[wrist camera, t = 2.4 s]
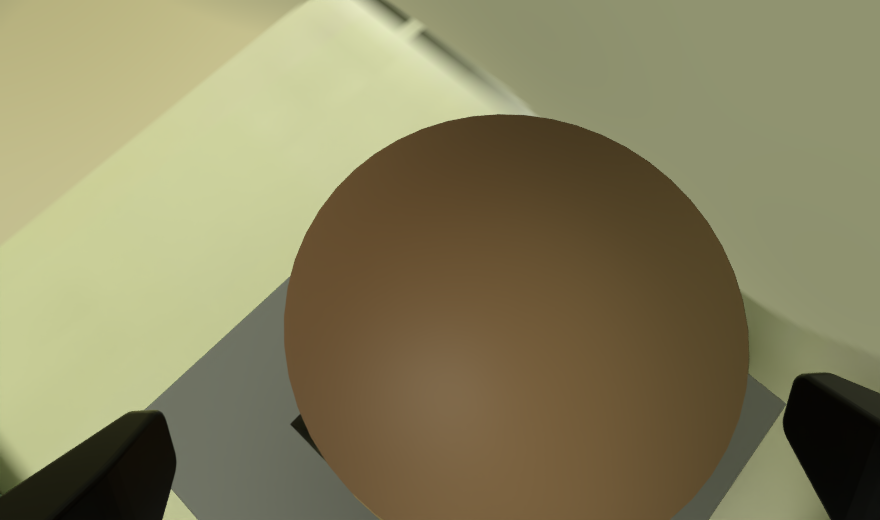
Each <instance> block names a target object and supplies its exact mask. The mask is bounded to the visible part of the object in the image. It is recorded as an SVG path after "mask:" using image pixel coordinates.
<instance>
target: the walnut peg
mask: <svg viewBox="0 0 880 520" xmlns="http://www.w3.org/2000/svg"><path fill="white" fill-rule="evenodd" d="M284 348H285V355H286V361H287V368H288V375H289V379H290V383H291V386H292V390H293V393H294V397H295V400H296V403H297V407H298V409H299V411H300V414H301V416H302V418H303V420H304V423H305V425H306V427H307V429H308V432H309V434H310V436H311V438H312V440H313V441H314V443H315V444H316V446H317V448H318V449H319V451H320V452H321V454H322V456H323V457H324V459H325V460H326V462H327V464H328V465H329V466H330V468H331V469H332V470H333V471H334V472H335V474H336V475H337V476H338V477H339V478H340V480H341V481H342V482H343V483H344V484H345V486H346V487H347V488H348V489H349V490H350V492H351V493H352V494H353V495H354V496H355V497H356V499H358V500H359V501H360V502H361V503H362V504H363V505H364V506H365V507H366V508H367V509H369V510H370V511H371V512H372V513H373V514H374V515H375V516H376V517H377V518H378V519H380V520H670V519H671V518H672V517H673V516H674V515H676V514H677V513H678V512H679V511H680V510H681V509H682V508H683V507H684V506H685V505H687V504H688V503H689V502H690V501H691V500H692V499H693V498H694V496H695V495H696V494H697V493H698V491H699V490H700V489H701V488H702V486H703V485H704V484H705V483H706V482H707V480H708V479H709V478H710V477H711V475H712V474H713V472H714V470H715V469H716V467H717V465H718V464H719V462H720V460H721V458H722V457H723V455H724V453H725V452H726V450H727V448H728V446H729V443H730V441H731V438H732V436H733V433H734V431H735V428H736V426H737V423H738V421H739V418H740V414H741V410H742V405H743V401H744V397H745V393H746V388H747V378H748V367H749V341H748V326H747V321H746V315H745V309H744V304H743V299H742V296H741V293H740V289H739V286H738V283H737V280H736V277H735V274H734V271H733V269H732V267H731V264H730V262H729V260H728V258H727V255H726V253H725V252H724V249H723V247H722V245H721V243H720V242H719V240H718V238H717V237H716V235H715V233H714V232H713V230H712V228H711V227H710V225H709V223H708V222H707V220H706V219H705V218H704V217H703V215H702V214H701V213H700V211H699V210H698V209H697V208H696V206H695V205H694V204H693V203H692V201H691V200H690V199H689V198H688V197H687V196H686V195H685V194H684V193H683V192H682V191H681V190H680V189H679V188H678V187H677V186H676V185H675V184H674V183H673V182H672V180H671V179H669V178H668V177H667V176H666V175H664V174H663V173H662V172H661V171H659V170H658V169H657V168H656V167H654V166H653V165H652V164H651V163H650V162H648V161H647V160H645V159H644V158H642V157H641V156H639V155H637V154H636V153H634V152H633V151H631V150H630V149H628V148H627V147H625V146H623V145H621V144H619V143H617V142H615V141H613V140H611V139H609V138H607V137H605V136H603V135H600V134H598V133H595V132H592V131H590V130H587V129H584V128H582V127H579V126H576V125H573V124H569V123H565V122H561V121H557V120H553V119H547V118H540V117H533V116H526V115H501V114H497V115H485V116H472V117H467V118H462V119H457V120H452V121H446V122H443V123H440V124H437V125H434V126H431V127H427V128H424V129H421V130H419V131H417V132H415V133H412V134H410V135H408V136H406V137H404V138H401V139H399V140H397V141H395V142H394V143H392V144H390V145H389V146H387V147H386V148H384V149H382V150H381V151H379V152H377V153H376V154H374V155H373V156H372V157H370V158H369V159H368V160H367V161H365V162H364V163H363V164H361V165H360V166H359V167H358V168H356V169H355V170H354V171H353V172H352V173H351V174H350V175H349V176H348V177H347V178H346V179H345V180H344V181H343V182H342V183H341V184H340V185H339V186H338V187H337V188H336V189H335V191H334V192H333V193H332V194H331V196H330V197H329V198H328V200H327V201H326V202H325V204H324V205H323V206H322V207H321V209H320V210H319V212H318V214H317V215H316V217H315V219H314V220H313V222H312V224H311V226H310V227H309V229H308V231H307V232H306V234H305V237H304V239H303V242H302V244H301V246H300V249H299V251H298V254H297V256H296V258H295V262H294V265H293V269H292V273H291V277H290V280H289V284H288V288H287V296H286V304H285V312H284Z"/></svg>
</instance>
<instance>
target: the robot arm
mask: <svg viewBox="0 0 880 520" xmlns="http://www.w3.org/2000/svg"><path fill="white" fill-rule="evenodd" d="M783 428H784V432H785V435H786V438H787V440H788V441H789V443H790V445H791V447H792V449H793V451H794V453H795V454H796V456H797V458H798V460H799V462H800V464H801V465H802V467H803V469H804V471H805V473H806V475H807V477H808V478H809V480H810V482H811V484H812V486H813V488H814V490H815V491H816V493H817V495H818V497H819V499H820V501H821V503H822V504H823V506H824V508H825V510H826V512H827V514H828V516H829V517H830V519H831V520H880V393H877V392H875V391H872V390H870V389H868V388H865V387H863V386H860V385H858V384H856V383H853V382H851V381H848V380H846V379H844V378H841V377H839V376H836V375H834V374H831V373H806V374H801V375H799V376H797V377H796V379H795V380H794V382H793V385H792V388H791V392H790V395H789V399H788V402H787V406H786V410H785V413H784V417H783ZM176 464H177V460H176V453H175V449H174V446H173V442H172V439H171V435H170V431H169V428H168V424H167V421H166V418H165V416H164V414H163V413H162V412H161V411H159V410H141V411H131V412H128V413H126V414H125V415H123V416H121V417H120V418H118V419H117V420H115V421H114V422H112V423H111V424H109V425H108V426H106V427H105V428H103V429H102V430H100V431H99V432H97V433H96V434H94V435H93V436H91V437H90V438H88V439H87V440H85V441H84V442H82V443H81V444H79V445H78V446H76V447H75V448H73V449H72V450H70V451H68V452H67V453H65V454H64V455H62V456H61V457H59V458H58V459H56V460H55V461H53V462H52V463H50V464H49V465H47V466H46V467H44V468H43V469H41V470H40V471H38V472H37V473H35V474H34V475H32V476H31V477H29V478H28V479H26V480H25V481H23V482H22V483H20V484H18V485H17V486H15V487H14V488H12V489H11V490H9V491H8V492H6V493H5V494H3V495H2V496H0V520H162V519H163V515H164V512H165V508H166V505H167V501H168V498H169V494H170V490H171V487H172V483H173V480H174V476H175V472H176Z"/></svg>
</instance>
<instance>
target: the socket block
mask: <svg viewBox="0 0 880 520" xmlns="http://www.w3.org/2000/svg"><path fill="white" fill-rule="evenodd" d="M290 277H291V276H290ZM290 277H289V278H288V279H287V280H286V281H284V282H283V283H282V284H281V285H280V286H279V287H278V288H277V289H276V290H275V291H274V292H272V293H271V294H270V295H269V296H268V297H267V298H266V299H265V300H264V301H263V302H262V303H261V304H259V305H258V306H257V307H256V308H255V309H254V310H253V311H252V312H251V313H250V314H249V315H247V316H246V317H245V318H244V319H243V320H242V321H241V322H240V323H239V324H238V325H237V326H235V327H234V328H233V329H232V330H231V331H230V332H229V333H228V334H227V335H226V336H225V337H223V338H222V339H221V340H220V341H219V342H218V343H217V344H216V345H215V346H214V347H213V348H211V349H210V350H209V351H208V352H207V353H206V354H205V355H204V356H203V357H202V358H201V359H199V360H198V361H197V362H196V363H195V364H194V365H193V366H192V367H191V368H190V369H189V370H187V371H186V372H185V373H184V374H183V375H182V376H181V377H180V378H179V379H178V380H177V381H175V382H174V383H173V384H172V385H171V386H170V387H169V388H168V389H167V390H166V391H165V392H163V393H162V394H161V395H160V396H159V397H158V398H157V399H156V400H155V401H154V402H153V403H152V404H150V405H149V406H148V407H147V408H146V409H145V410H159V411H161V412H162V413H163V414H164V416H165V418H166V421H167V424H168V428H169V431H170V435H171V439H172V442H173V446H174V449H175V453H176V460H177V464H176V472H175V476H174V480H173V483H172V487H171V489H172V490H173V491H174V493H175V494H176V495H177V496H178V497H179V498H180V500H181V501H182V502H183V503H184V504H185V505H186V506H187V508H188V509H189V510H190V511H191V512H192V513H193V515H194V516H195V517H196V518H197V519H198V520H380V519H378V518H377V517H376V516H375V515H374V514H373V513H372V512H371V511H370V510H369V509H367V508H366V507H365V506H364V505H363V504H362V503H361V502H360V501H359V500H358V499H356V497H355V496H354V495H353V494H352V493H351V492H350V490H349V489H348V488H347V487H346V486H345V484H344V483H343V482H342V481H341V480H340V478H339V477H338V476H337V475H336V474H335V472H334V471H333V470H332V469H331V468H330V466H329V465H328V464H327V462H326V460H325V459H324V457H323V456H322V454H321V452H320V451H319V449H318V448H317V446H316V444H315V443H314V441H313V440H312V438H311V436H310V434H309V432H308V429H307V427H306V425H305V423H304V420H303V418H302V416H301V414H300V411H299V409H298V407H297V403H296V400H295V397H294V393H293V390H292V386H291V383H290V379H289V375H288V368H287V361H286V355H285V348H284V312H285V304H286V296H287V288H288V284H289V280H290ZM785 406H786V403H785V402H783V401H782V400H781V399H780V398H778V397H777V396H776V395H775V394H773V393H772V392H771V391H770V390H768V389H767V388H766V387H764V386H763V385H762V384H761V383H759V382H758V381H757V380H756V379H754V378H753V377H752V376H751V375H749V374H748V378H747V388H746V393H745V397H744V401H743V405H742V410H741V414H740V418H739V421H738V423H737V426H736V428H735V431H734V433H733V436H732V438H731V441H730V443H729V446H728V448H727V450H726V452H725V453H724V455H723V457H722V458H721V460H720V462H719V464H718V465H717V467H716V469H715V470H714V472H713V474H712V475H711V477H710V478H709V479H708V480H707V482H706V483H705V484H704V485H703V486H702V488H701V489H700V490H699V491H698V493H697V494H696V495H695V496H694V498H693V499H692V500H691V501H690V502H689V503H688V504H687V505H685V506H684V507H683V508H682V509H681V510H680V511H679V512H678V513H677V514H676V515H674V516H673V517H672V518H671V519H670V520H709V518H710V517H711V515H712V514H713V512H714V511H715V509H716V508H717V506H718V505H719V503H720V502H721V500H722V499H723V498H724V496H725V495H726V493H727V492H728V490H729V489H730V487H731V486H732V484H733V483H734V481H735V480H736V478H737V477H738V475H739V474H740V472H741V471H742V469H743V468H744V466H745V465H746V463H747V462H748V460H749V459H750V458H751V456H752V455H753V453H754V452H755V450H756V449H757V447H758V446H759V444H760V443H761V441H762V440H763V438H764V437H765V435H766V434H767V432H768V431H769V429H770V428H771V426H772V425H773V423H774V422H775V420H776V419H777V418H778V416H779V415H780V413H781V412H782V410H783V409H784V407H785Z"/></svg>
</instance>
